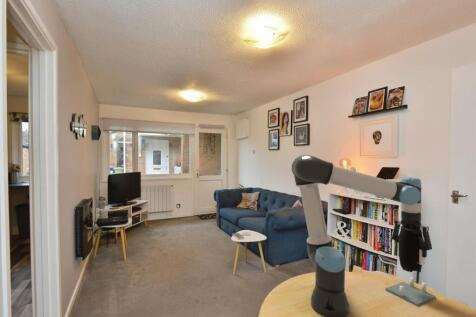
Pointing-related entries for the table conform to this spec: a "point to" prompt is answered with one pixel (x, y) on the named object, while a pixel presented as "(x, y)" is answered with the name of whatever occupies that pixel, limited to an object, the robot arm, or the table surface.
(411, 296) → the pin pad
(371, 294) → the table surface
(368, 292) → the table surface
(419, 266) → the portable speaker
